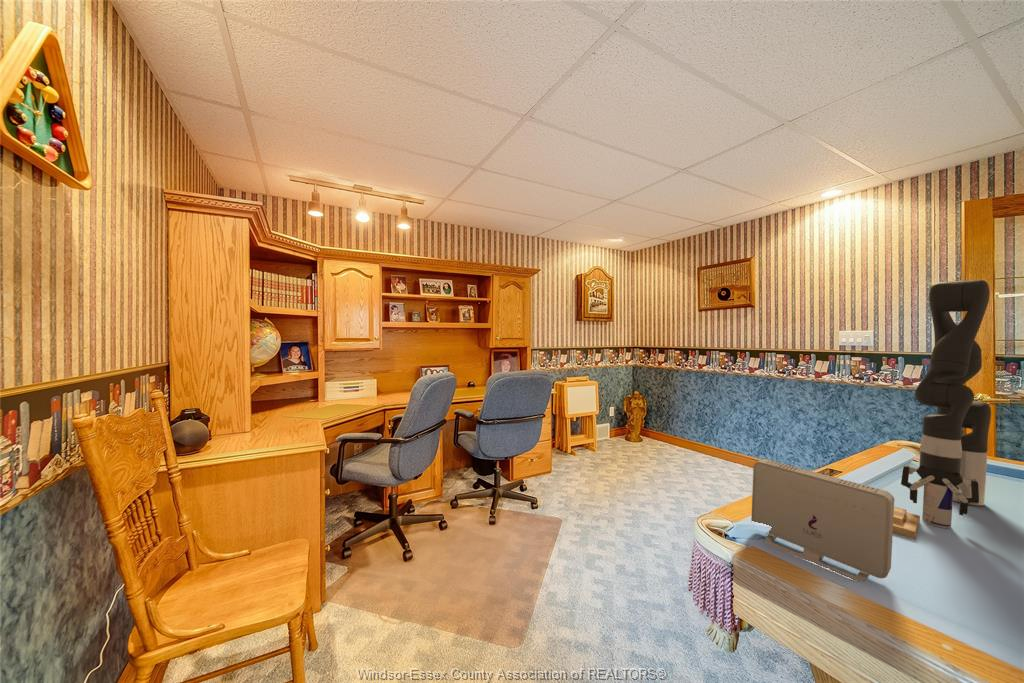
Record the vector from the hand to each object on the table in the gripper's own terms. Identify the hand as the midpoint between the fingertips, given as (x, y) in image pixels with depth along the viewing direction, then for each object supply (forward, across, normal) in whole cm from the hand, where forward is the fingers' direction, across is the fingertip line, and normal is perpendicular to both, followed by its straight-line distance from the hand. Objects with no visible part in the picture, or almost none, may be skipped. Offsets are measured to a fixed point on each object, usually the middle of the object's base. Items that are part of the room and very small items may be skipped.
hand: (937, 508), depth 102 cm
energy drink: (+5, 0, 0) cm, 5 cm away
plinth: (+5, +10, +10) cm, 15 cm away
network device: (+6, +17, +48) cm, 51 cm away
